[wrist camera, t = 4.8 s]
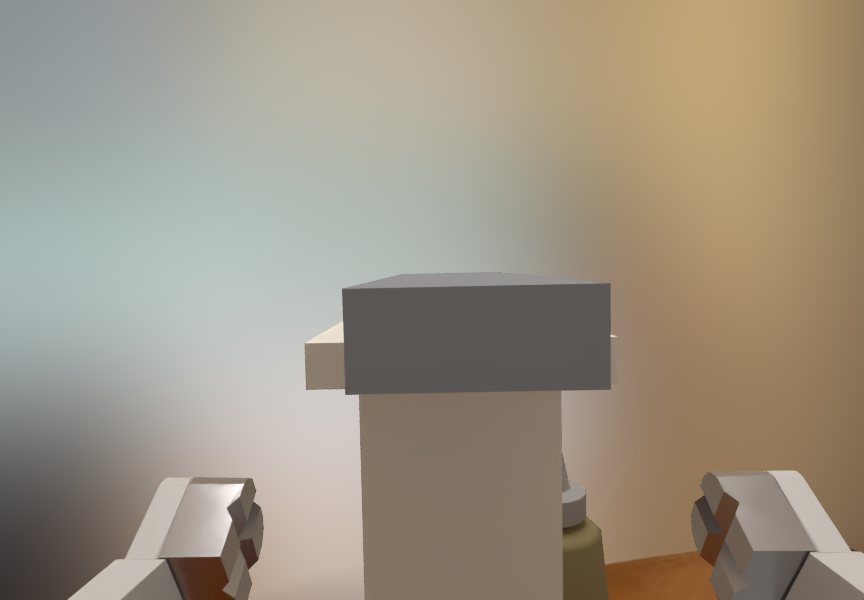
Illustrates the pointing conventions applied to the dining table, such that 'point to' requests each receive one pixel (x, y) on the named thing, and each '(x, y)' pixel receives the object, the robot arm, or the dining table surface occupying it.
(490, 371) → the cover
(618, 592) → the dining table surface
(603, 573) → the squeeze bottle
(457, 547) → the stand
